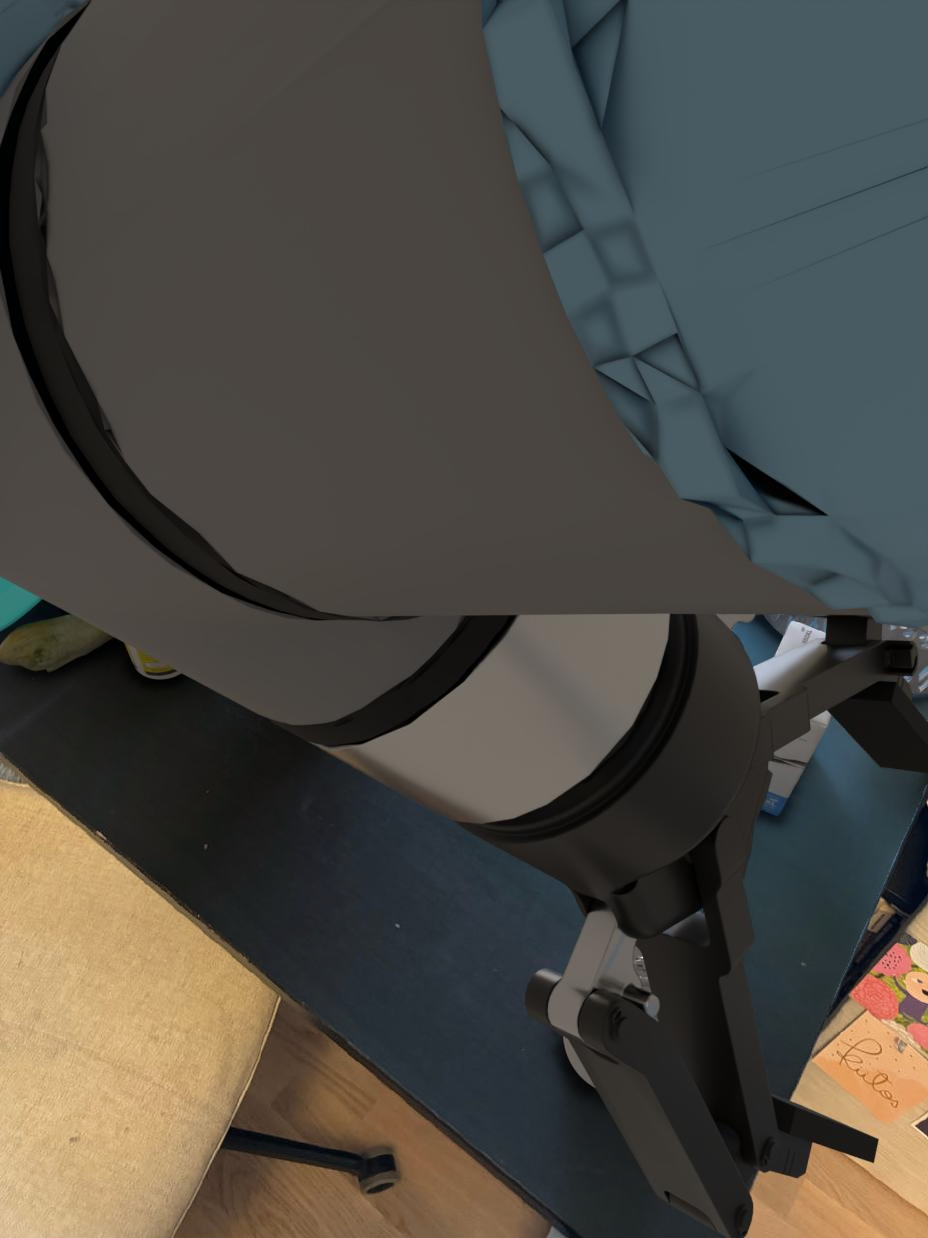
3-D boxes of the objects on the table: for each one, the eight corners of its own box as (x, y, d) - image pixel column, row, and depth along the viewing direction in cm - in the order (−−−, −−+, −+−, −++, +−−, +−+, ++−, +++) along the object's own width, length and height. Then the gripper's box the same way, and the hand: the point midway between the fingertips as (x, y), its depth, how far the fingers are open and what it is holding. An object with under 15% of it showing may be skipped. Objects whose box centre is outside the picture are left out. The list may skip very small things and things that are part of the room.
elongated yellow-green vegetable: (182, 602, 81) (20, 680, 76) (158, 555, 79) (-10, 633, 75) (190, 613, 76) (17, 697, 72) (164, 564, 74) (-14, 648, 70)
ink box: (779, 820, 66) (829, 729, 57) (715, 791, 68) (754, 698, 59) (809, 737, 71) (859, 641, 62) (748, 712, 73) (789, 615, 64)
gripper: (583, 293, 27) (854, 633, 39) (196, 1193, 19) (693, 1257, 31) (828, 210, 21) (1052, 637, 34) (426, 1444, 13) (918, 1399, 26)
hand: (880, 936), depth 32 cm, fingers open, 13 cm apart
